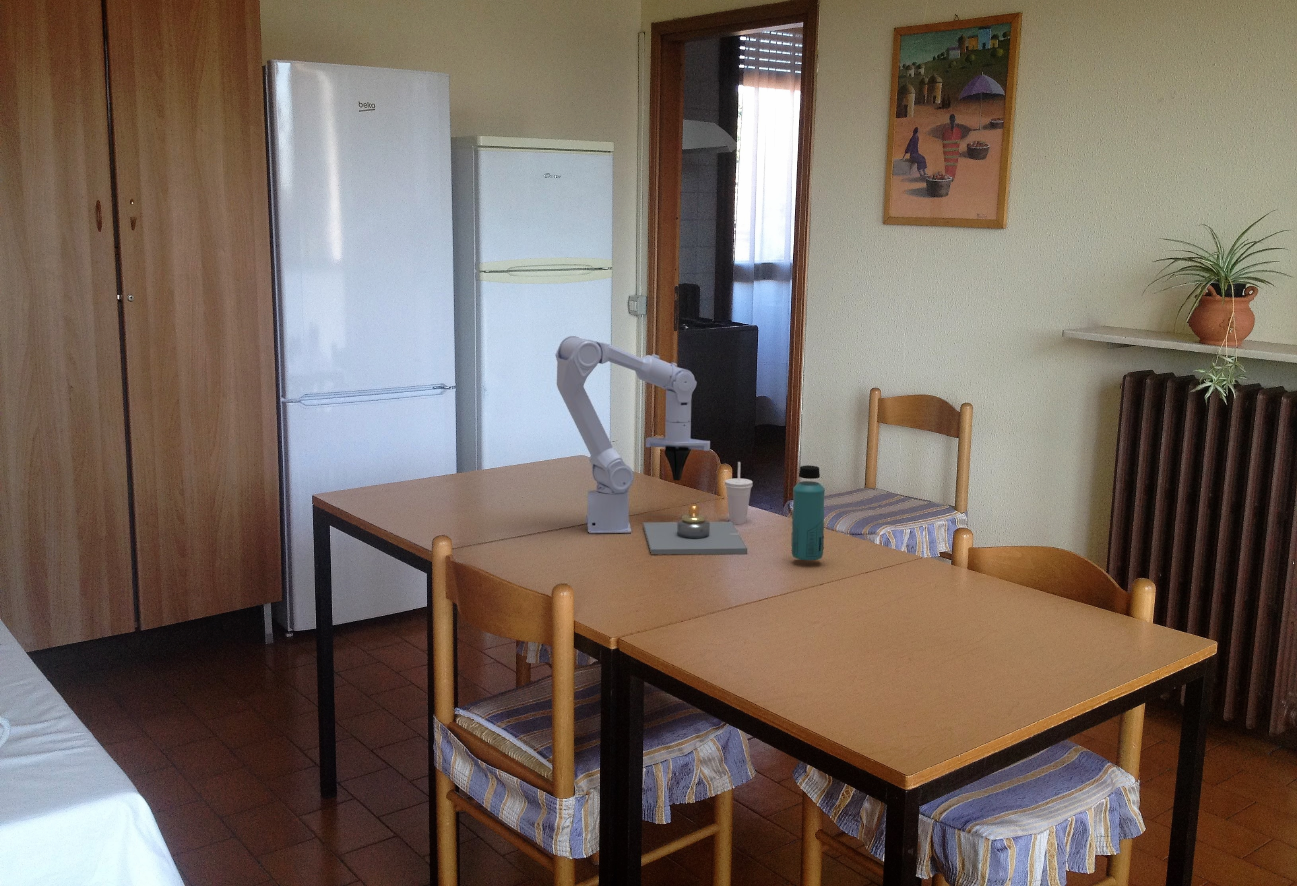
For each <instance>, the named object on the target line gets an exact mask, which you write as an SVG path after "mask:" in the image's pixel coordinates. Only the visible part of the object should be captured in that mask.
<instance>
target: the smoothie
mask: <svg viewBox="0 0 1297 886" xmlns="http://www.w3.org/2000/svg"><path fill="white" fill-rule="evenodd" d="M724 486H725V490H726V498H727V508H728V509H727V510H728V518H729V521H728V522H732V523H733V525H745V524H746V523H747V516H748V509H749V503H750V498H751V489H752V487H753V486H754V485H753V481H752V480H751V479H747V478H741V461H737V478H728V479H725V480H724Z"/></svg>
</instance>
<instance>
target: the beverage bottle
mask: <svg viewBox="0 0 1297 886" xmlns="http://www.w3.org/2000/svg"><path fill="white" fill-rule="evenodd" d="M798 477H799V478H801V479H808V480H807V481H805V480H802V481H799V482H797V484H796V485H795V486H793V503H792V521H791V523H792V525H791V527H792V528H791V531H792V532H791V541H790V543H791V544H790V545H791V548H790V550H791V556H792V557H793V558H795V559H798V560H801V561H819V560H821V559H823V555H824V549H825V547H824V545H825V540H824V539H825V535H824V534H825V533H824V532H825V490H826V489H825V487H824V486H823V485H822V484H821V483H820V482H818V481H812V480H814V479H819V478H820V477H821V473H820V467H819V466H817V465H809V464H807V465H800V466H799V473H798ZM809 480H811V481H809Z"/></svg>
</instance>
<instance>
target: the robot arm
mask: <svg viewBox="0 0 1297 886" xmlns="http://www.w3.org/2000/svg"><path fill="white" fill-rule="evenodd" d="M554 354H555V358H556V362H557V365H556V388H557V389H558V391H559V394H560V396H561V397H562V400H563V402H564V403H565V406H566V407H567V410H568V412H569V414H570V415H571V418H572V419H573V422H574V424H575V426H576V429H578V432H579V434H580V437H581V438H582V440H583V442H584V444H585V446H586V448H587V450H588V453H589V454H590V457H589V458H588V459H589V463H590V466H591V474H592V478H593V480H594V481H595V482H596V489H593V490H591V489H590V490H587V507H586V508H587V510H586V511H587V515H586V516H585V524H587V532H589V534H619V533H620V534H628V533H629V534H630V533H632V528H631V523H630V522H629V521H630V520H629V515H630V514H629V513H630V512H629V510H630V508H629V507H630V506H629V505H630V504H629V503H630V498H629V497H630V488H631V486H632V485H633V484H634V481H635V475H634V474H635V473H634V470H633V469H632V467H630V466H629V465H627V463H625V461H624V460H623V458H622V456H621V454H619V452H617V450H616V449H615V448H614V447H613V444H612V442H611V441H610V438H609V437H608V434H607V433H606V430H605V428H604V425H603V424H602V422H601V419H600V418H599V415H598V414H597V411H596V410H595V407H594V406H593V403H592V401H591V399H590V397H589V395H588V393H587V391H586V388H585V386H584V385H585V383H586V382H587V378H588V377H589V375H591V373H592V372H593V370H594V369H595V368H596V367H597V366H598V364H601V365H603V364H606V363H608V362H609V363H612V364H615V365H618V366H621V367H623V368H626V369H628V370H632V371H634V372H635V373H636V376H637V378H638V379H639V380H641V381H644V382H645V383H648V384H651V385H653V386H657V387H659V388H661V389H663V390H665V430H664V431H665V435H664V437H649V436H648V437H647V438H645V448H663V449H664V450H663V453H664V456H665V457H666V460H667V461H668V464H669V467H670V470H671V475H672V480H673V481H679V482H680V480H682V474H683V470H684V467H685V464H686V462H687V459H688V457H689V455H690V453H691V452H692V450H696V451H697V450H698V451H704V452H707V451H708V452H709V450H710V449H711V441H710V440H701V439H695V438H691V433H692V432H691V430H692V428H691V427H692V422H691V421H692V420H691V419H692V395H693V392H694V390H695V389H696V387H697V383H698V382H697V381H696V379H695V375H694V374H693V373H692V371H691V370H689V369H687V368H681V367H678V364H677V363H675V362H670V363H669V362H668V361H665V360H662V359H660V355H657V354H655V353H653V354H651V355H649V354H648V355H647V354H646V355H644V356H642V357H639V356H637V355H635V354H632V353H631V352H628V351H626V350H623V349H621V348H619V347H616V346H614V345H612V344H610V343H606V342H601V341H597V340H593V339H590V338H589V339H586V338H580V337H579V336H576V335H575V336H574V335H570V336H567V337H564V338H563V340H561V342H560V344H559V346H558V348H557V349H556V353H554Z"/></svg>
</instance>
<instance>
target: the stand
mask: <svg viewBox="0 0 1297 886" xmlns="http://www.w3.org/2000/svg"><path fill="white" fill-rule="evenodd" d="M677 522H678V521H677ZM677 522H676V521H673V522H671V521H667V522H665V521H664V522H662V521H661V522H659V521H658V522H656V521H655V522H651V521H650V522H645V521H643V525H642V526H643V531H645V532H644V535H645V534H646V535H645V538H647V539H646V542H647V541H648V542H647V545H649V546H648V549H649V548H650V549H649V553H650V552H651V553H650V555H651V554H701V555H747V554H748V547H747V546H746V543H745V541H744V540H743V538H742V537H741V534H740V533H739V532H738V530H737V528H736V527H735V524H733V523H732V522H730V521H709V522H710V534H709V535H708V536H706V537H701V538H688V537H682V536H679V535H678V534H677Z"/></svg>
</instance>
